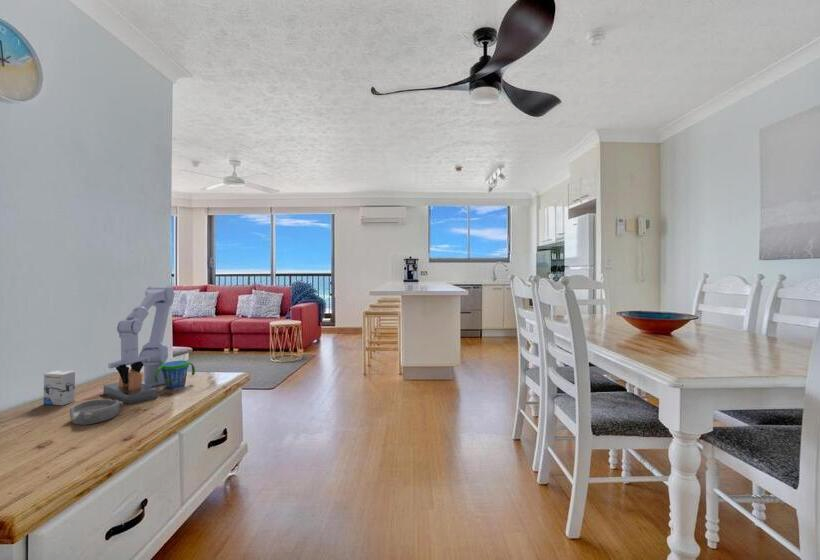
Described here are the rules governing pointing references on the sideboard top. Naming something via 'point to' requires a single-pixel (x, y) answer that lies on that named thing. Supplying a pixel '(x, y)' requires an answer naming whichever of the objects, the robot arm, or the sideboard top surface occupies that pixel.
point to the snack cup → (174, 373)
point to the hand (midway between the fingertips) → (130, 382)
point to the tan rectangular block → (132, 380)
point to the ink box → (59, 387)
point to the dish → (94, 411)
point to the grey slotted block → (130, 393)
